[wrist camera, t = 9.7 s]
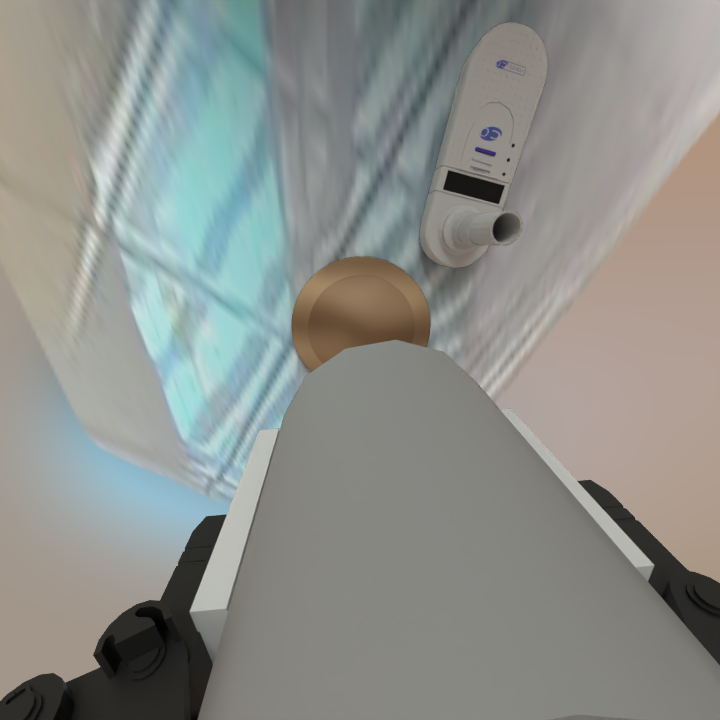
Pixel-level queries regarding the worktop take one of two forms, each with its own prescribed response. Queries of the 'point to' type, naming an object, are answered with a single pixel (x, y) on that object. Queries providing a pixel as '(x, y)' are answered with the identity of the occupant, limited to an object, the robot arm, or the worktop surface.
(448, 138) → the electronic device
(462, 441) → the cup
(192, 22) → the worktop surface
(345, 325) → the plate
